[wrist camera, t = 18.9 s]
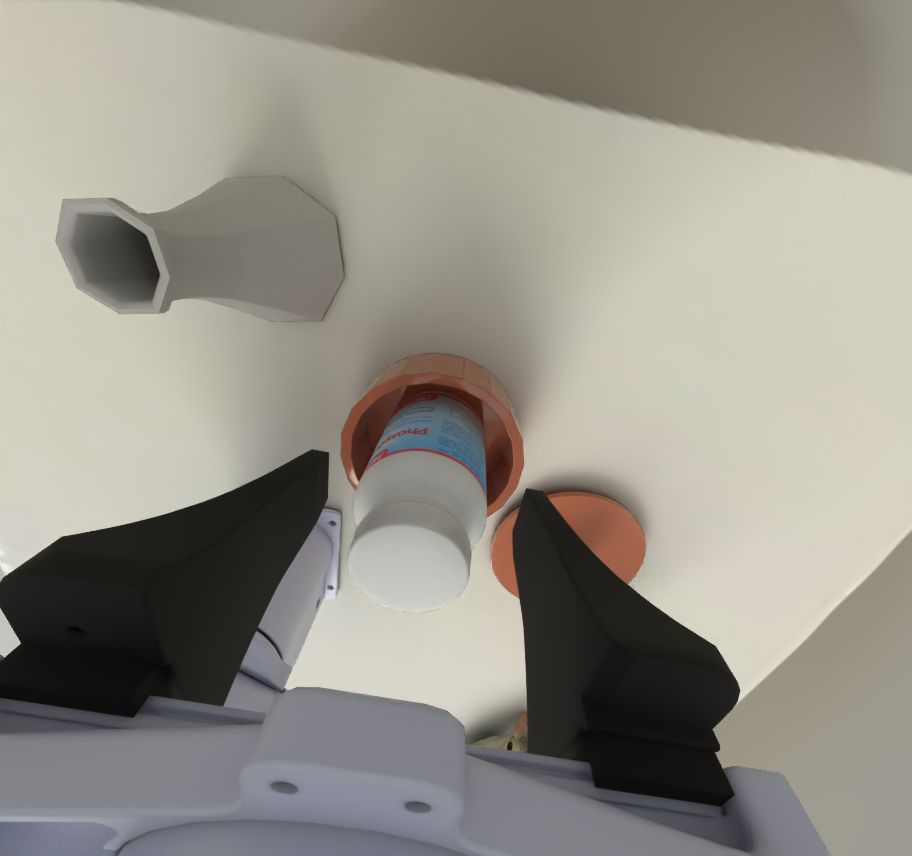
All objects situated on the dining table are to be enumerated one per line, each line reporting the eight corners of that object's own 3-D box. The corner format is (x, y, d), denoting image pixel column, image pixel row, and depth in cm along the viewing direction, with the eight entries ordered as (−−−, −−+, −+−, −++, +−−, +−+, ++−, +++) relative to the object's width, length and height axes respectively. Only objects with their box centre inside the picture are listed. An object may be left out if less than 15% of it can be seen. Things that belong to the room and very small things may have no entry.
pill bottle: (422, 368, 21) (376, 473, 11) (503, 423, 23) (525, 561, 13) (372, 440, 24) (298, 580, 14) (448, 486, 25) (431, 644, 15)
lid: (607, 606, 30) (629, 663, 26) (476, 584, 30) (477, 639, 26) (665, 501, 25) (703, 551, 21) (509, 473, 25) (516, 519, 21)
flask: (357, 202, 18) (243, 157, 9) (335, 339, 21) (234, 405, 12) (210, 150, 17) (-66, 48, 9) (211, 301, 21) (9, 340, 12)
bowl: (496, 503, 26) (499, 543, 23) (356, 479, 26) (337, 515, 22) (535, 370, 22) (546, 393, 18) (365, 338, 21) (344, 355, 18)
